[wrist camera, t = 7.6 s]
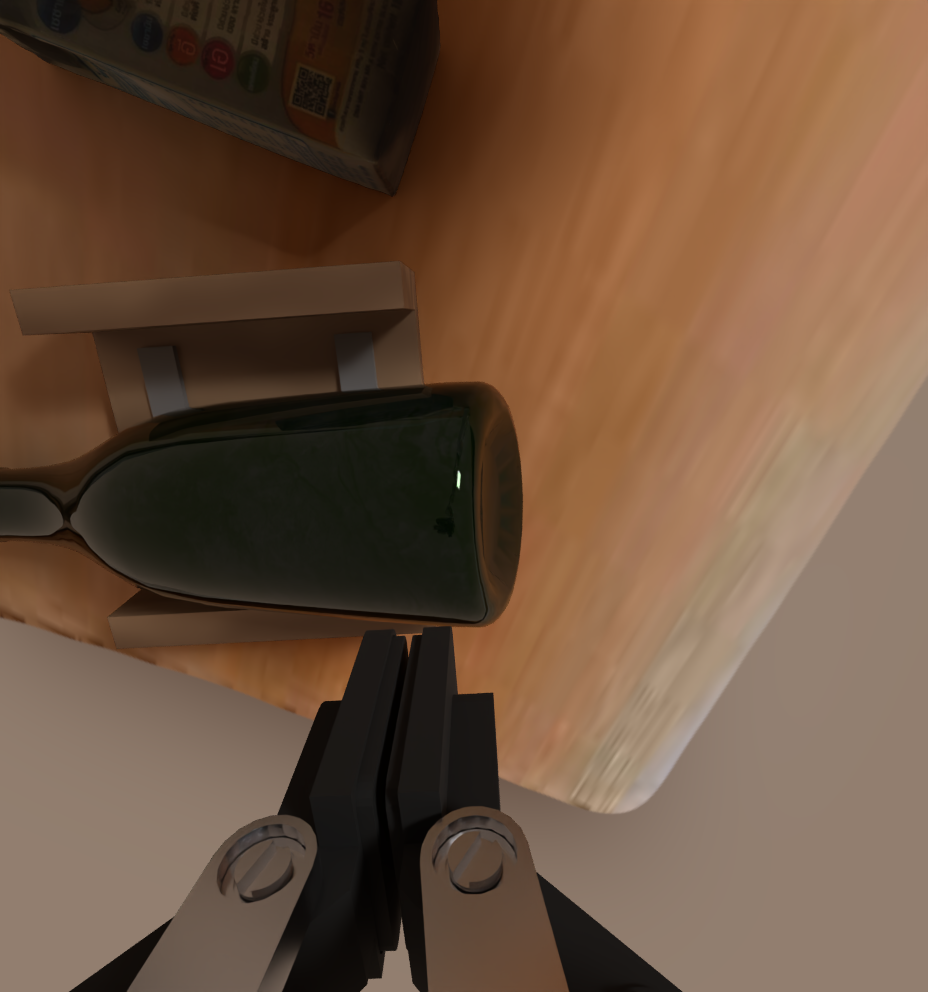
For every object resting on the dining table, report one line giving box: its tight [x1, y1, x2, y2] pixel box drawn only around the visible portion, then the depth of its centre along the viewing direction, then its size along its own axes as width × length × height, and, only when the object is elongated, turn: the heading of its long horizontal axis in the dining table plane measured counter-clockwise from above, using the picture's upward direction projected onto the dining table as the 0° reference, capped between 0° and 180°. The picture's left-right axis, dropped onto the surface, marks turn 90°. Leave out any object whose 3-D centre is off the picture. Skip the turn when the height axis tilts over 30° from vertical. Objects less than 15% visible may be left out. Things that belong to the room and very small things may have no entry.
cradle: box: [9, 261, 436, 649], centre depth 31 cm, size 19×18×6 cm
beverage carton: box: [0, 0, 441, 197], centre depth 25 cm, size 8×19×7 cm, turn 70°
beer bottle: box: [0, 382, 523, 627], centre depth 28 cm, size 10×10×33 cm
